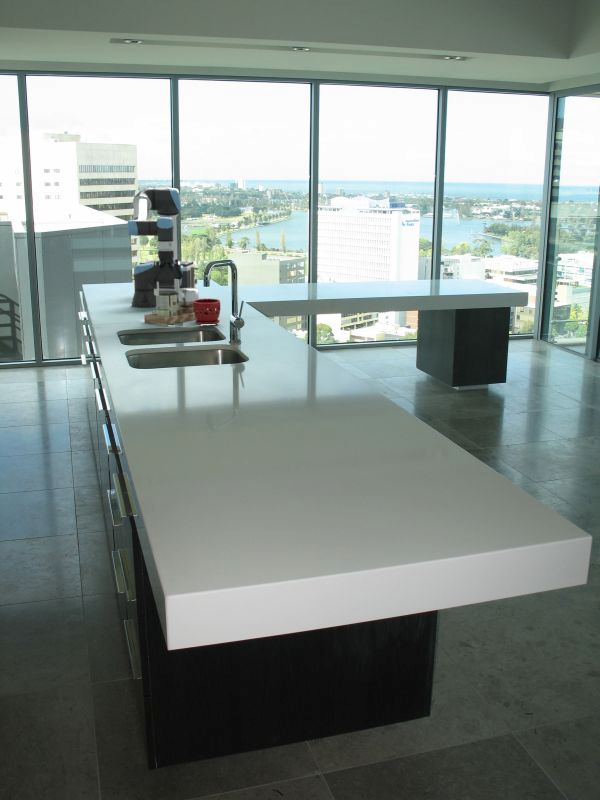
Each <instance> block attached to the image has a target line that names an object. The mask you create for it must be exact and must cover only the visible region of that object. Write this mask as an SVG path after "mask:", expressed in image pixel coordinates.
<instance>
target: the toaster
mask: <svg viewBox="0 0 600 800" xmlns="http://www.w3.org/2000/svg"><path fill="white" fill-rule="evenodd" d="M154 261H157V260H154V259H153V260H149V259H147V260H145V261H141V262H139V265H140V264H145V263H154ZM178 261H179V262H180V265H182V266H183V277H182V282H181V285H180V286H179V288H180V289H181V288H196V289H197V287H196V285H198V279H197V278H196V276H195V275H196V272H195V270H196V271H197V270H199V269H200V268H199V267H196V265H195V264H194V261H188V260H187V261H186V260H185V261H183V260H178ZM159 291H175V287H159ZM177 299H178V293H177Z"/></svg>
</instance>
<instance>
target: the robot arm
mask: <svg viewBox="0 0 600 800" xmlns="http://www.w3.org/2000/svg"><path fill="white" fill-rule="evenodd" d="M132 207H133V214H132V215H133V216H132V219H129V220H127V234H128V235H129V236H133V237H144V236H145V237H146V236H147V237H149V236H150V237H151V236H153V237H157V257H158V260H156V261H154V263H145V264H140V263H139V264H136V265H135V266H134V268H133V279H134V281H133V283H134V294H133V296H132V301H131V307H134V308H140V307H141V308H149V309H150V308H156V296H159V287H175V291H176V292H177V293H180V288H179V286H180V285H181V282H182V277H183V266H182V265H180V262H179V261H180V260H179V259H178V236H177V235H178V232H177V231H178V230H177V229H178V228H177V217H178V216H179V215H180V212H181V211H182V210H183V209H182V201H181V195H180V191H179V188H173V187H148V188H144V189H142V190H141V191H139V192H137V194H136V195H135V196H134V197H133V199H132ZM150 211H156V212H157V213H156V214H157V216H158V218H157V219H149V216H150V215H149V212H150Z"/></svg>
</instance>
